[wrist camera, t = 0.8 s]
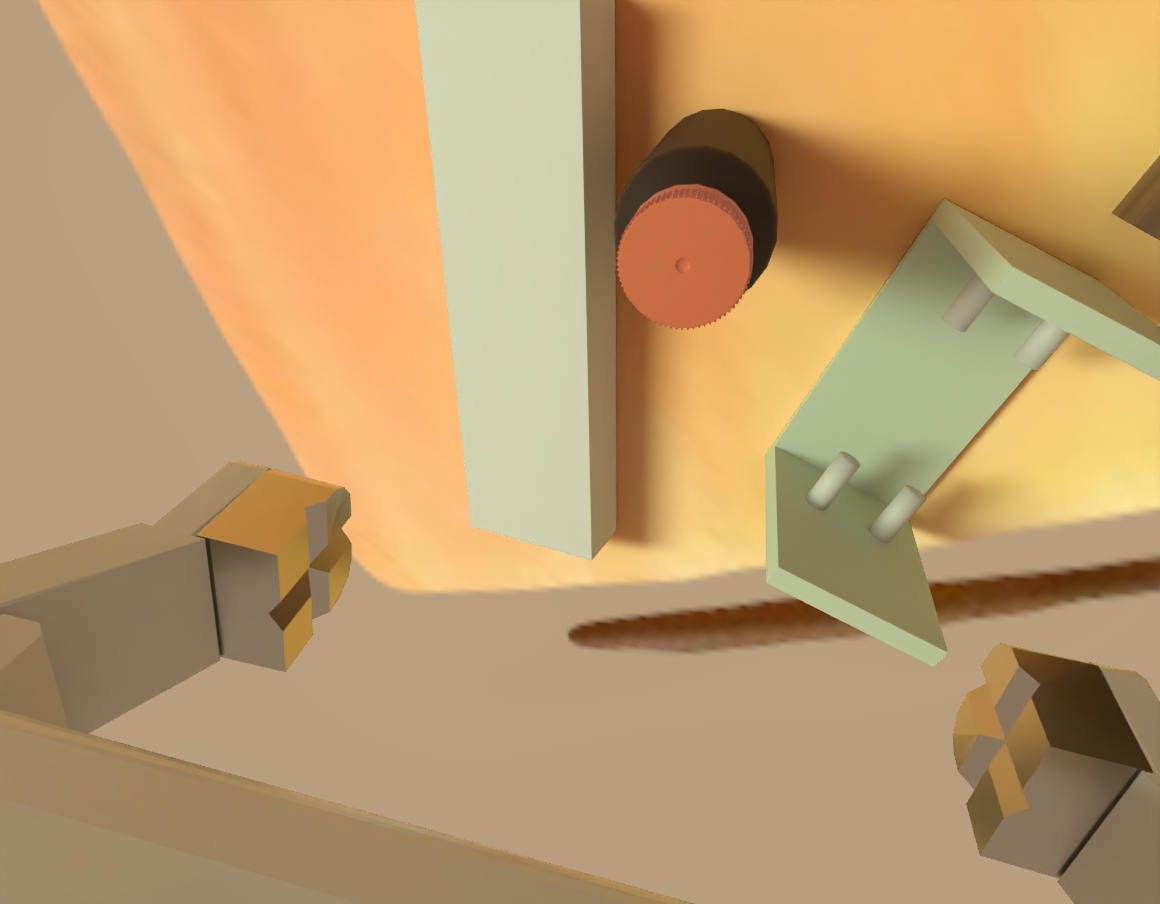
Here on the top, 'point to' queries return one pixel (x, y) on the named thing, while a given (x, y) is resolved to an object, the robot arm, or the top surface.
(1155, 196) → the plank
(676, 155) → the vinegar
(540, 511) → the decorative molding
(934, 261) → the shelf frame
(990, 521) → the top surface
